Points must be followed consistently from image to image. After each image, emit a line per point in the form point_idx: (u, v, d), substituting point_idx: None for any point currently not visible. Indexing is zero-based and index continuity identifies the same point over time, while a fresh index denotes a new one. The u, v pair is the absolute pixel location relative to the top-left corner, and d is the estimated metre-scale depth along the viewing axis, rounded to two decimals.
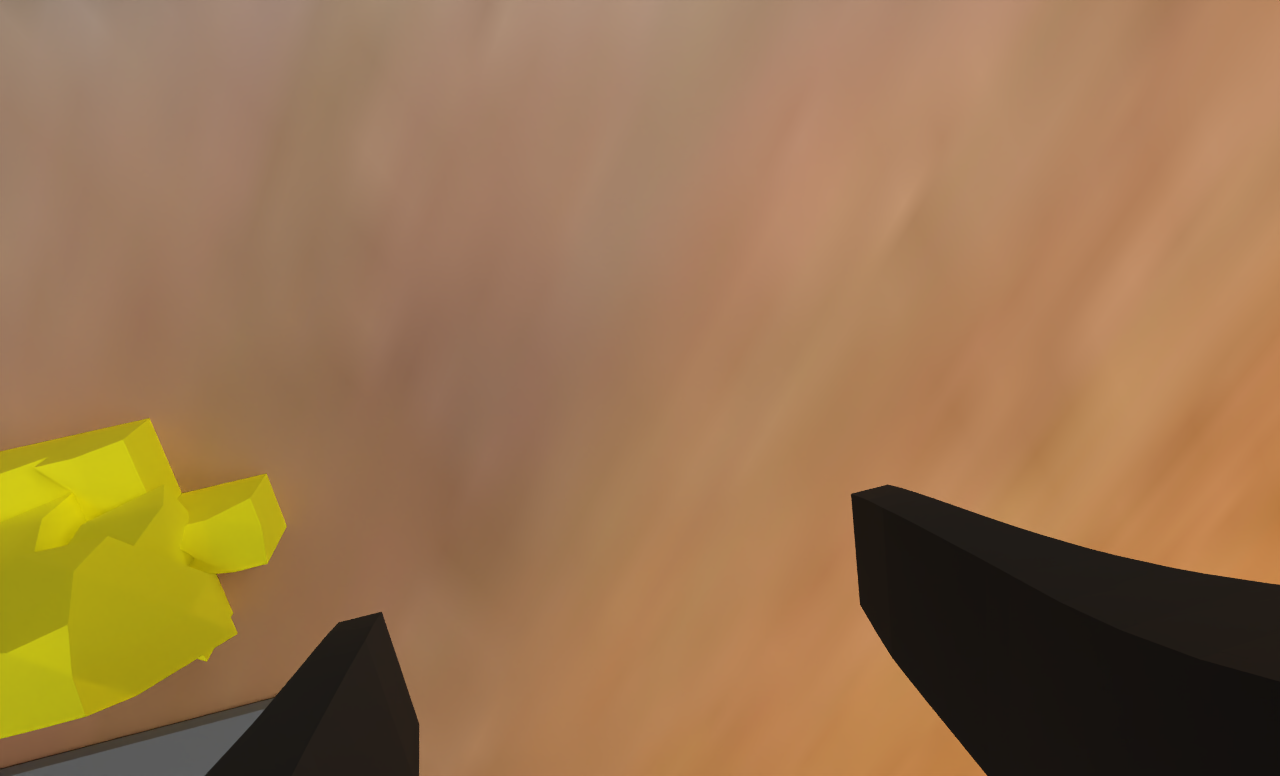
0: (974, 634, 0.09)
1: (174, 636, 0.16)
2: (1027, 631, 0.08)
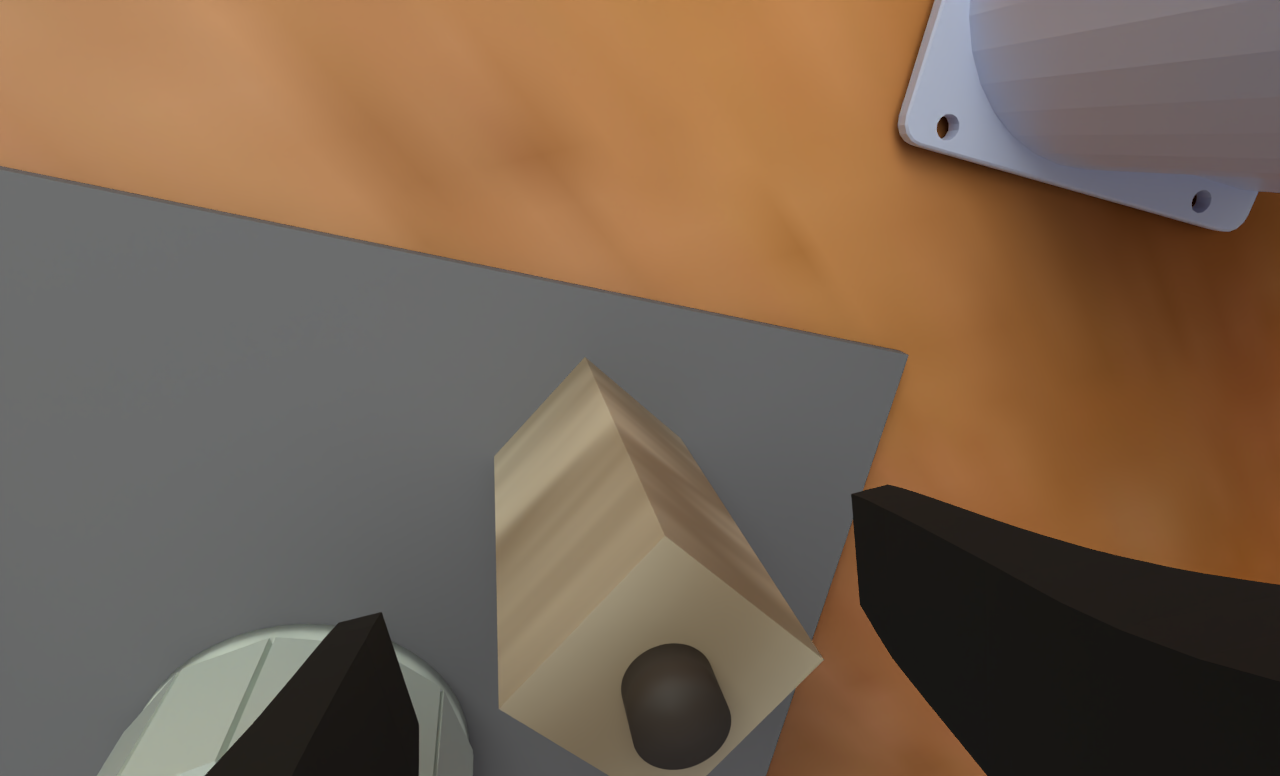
0: (974, 634, 0.09)
1: None
2: (1027, 631, 0.08)
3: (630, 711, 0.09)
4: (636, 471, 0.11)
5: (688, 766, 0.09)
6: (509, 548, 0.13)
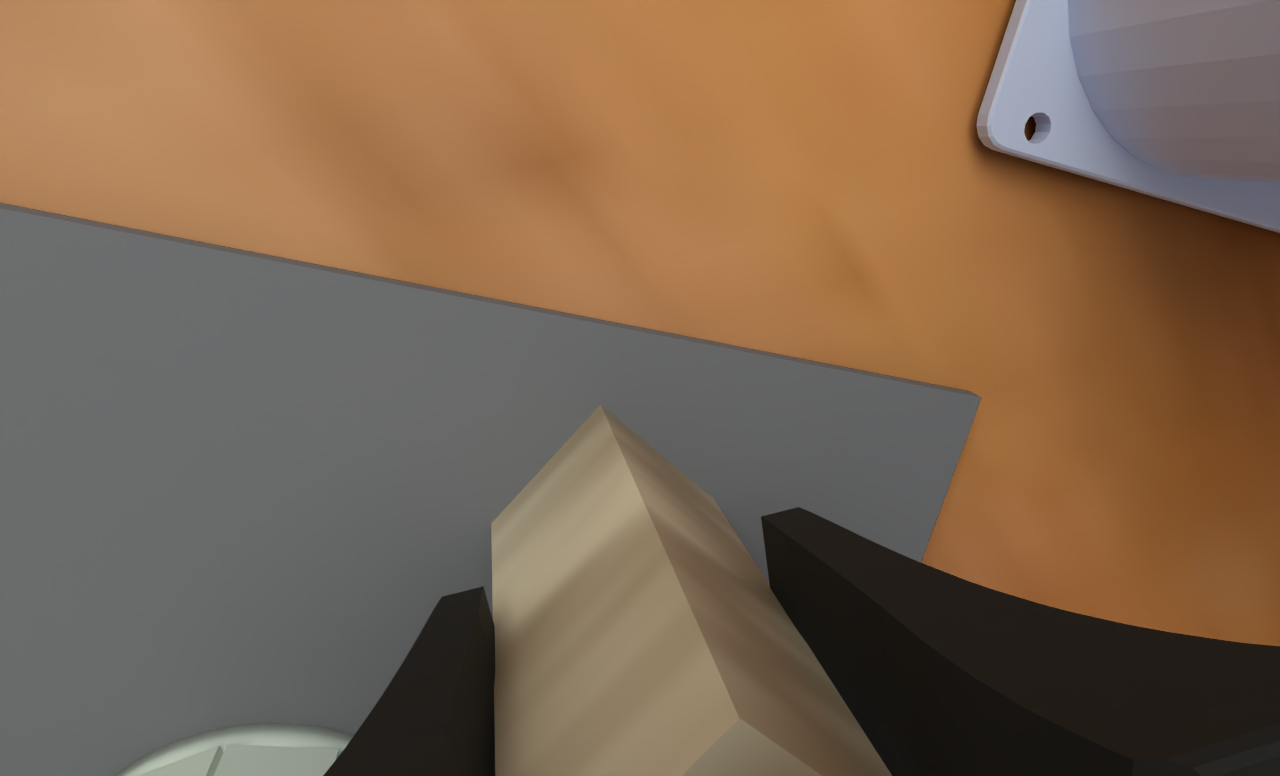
0: (861, 665, 0.09)
1: None
2: (900, 667, 0.08)
3: None
4: (683, 591, 0.08)
5: None
6: (511, 670, 0.10)
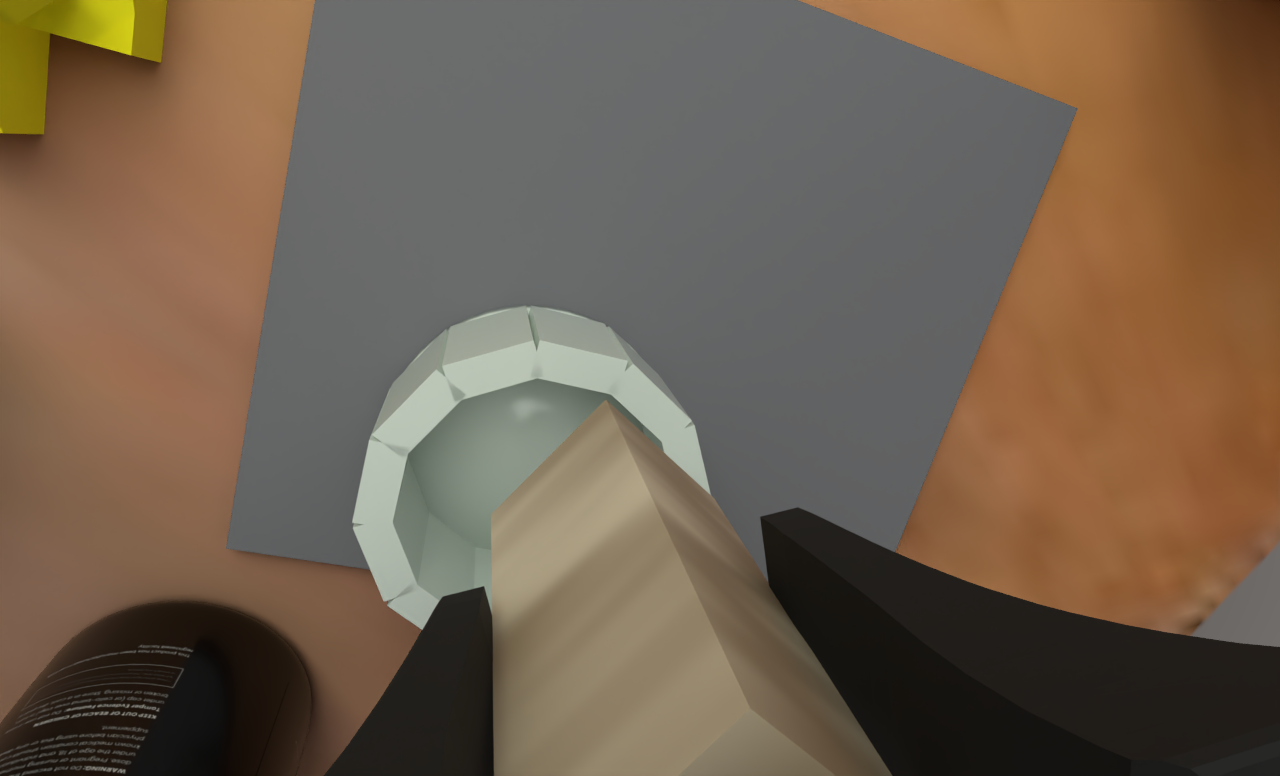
0: (861, 666, 0.09)
1: None
2: (899, 668, 0.08)
3: None
4: (691, 583, 0.08)
5: None
6: (510, 659, 0.10)
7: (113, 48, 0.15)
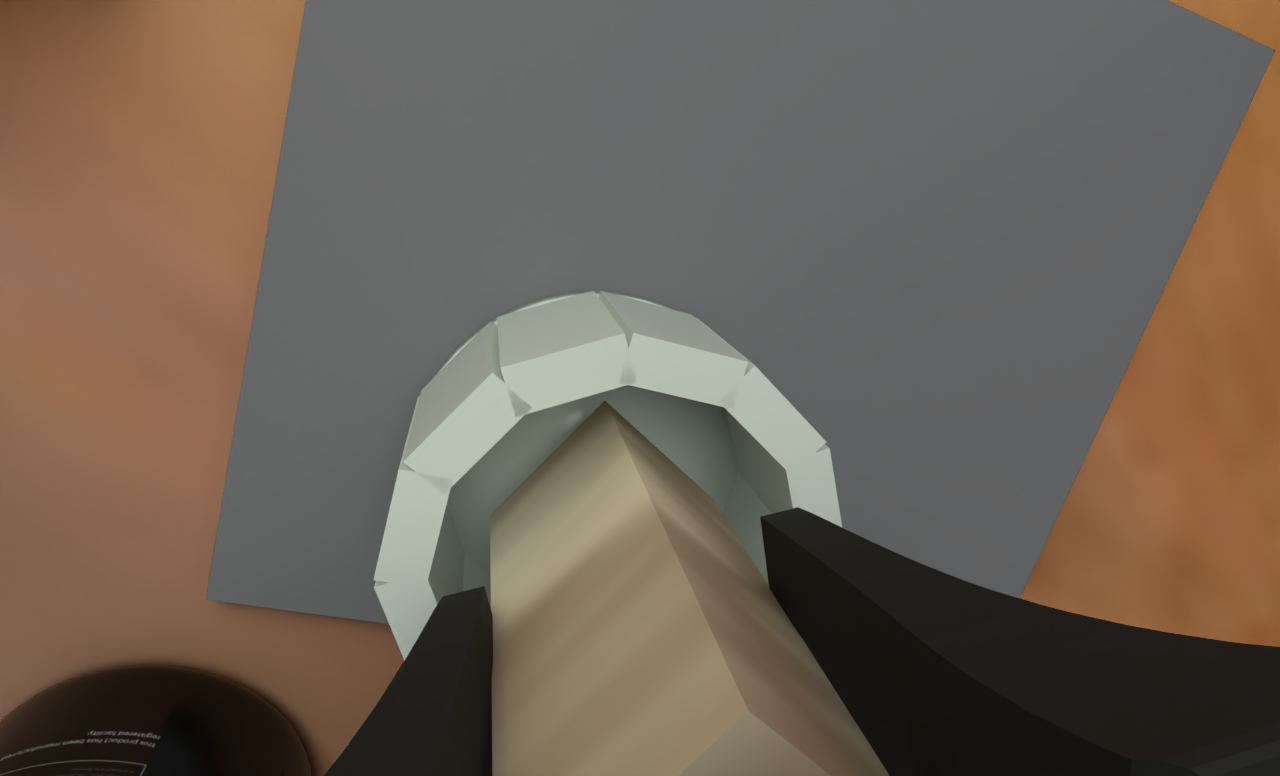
0: (861, 666, 0.09)
1: None
2: (900, 668, 0.08)
3: None
4: (690, 584, 0.08)
5: None
6: (509, 660, 0.10)
7: None
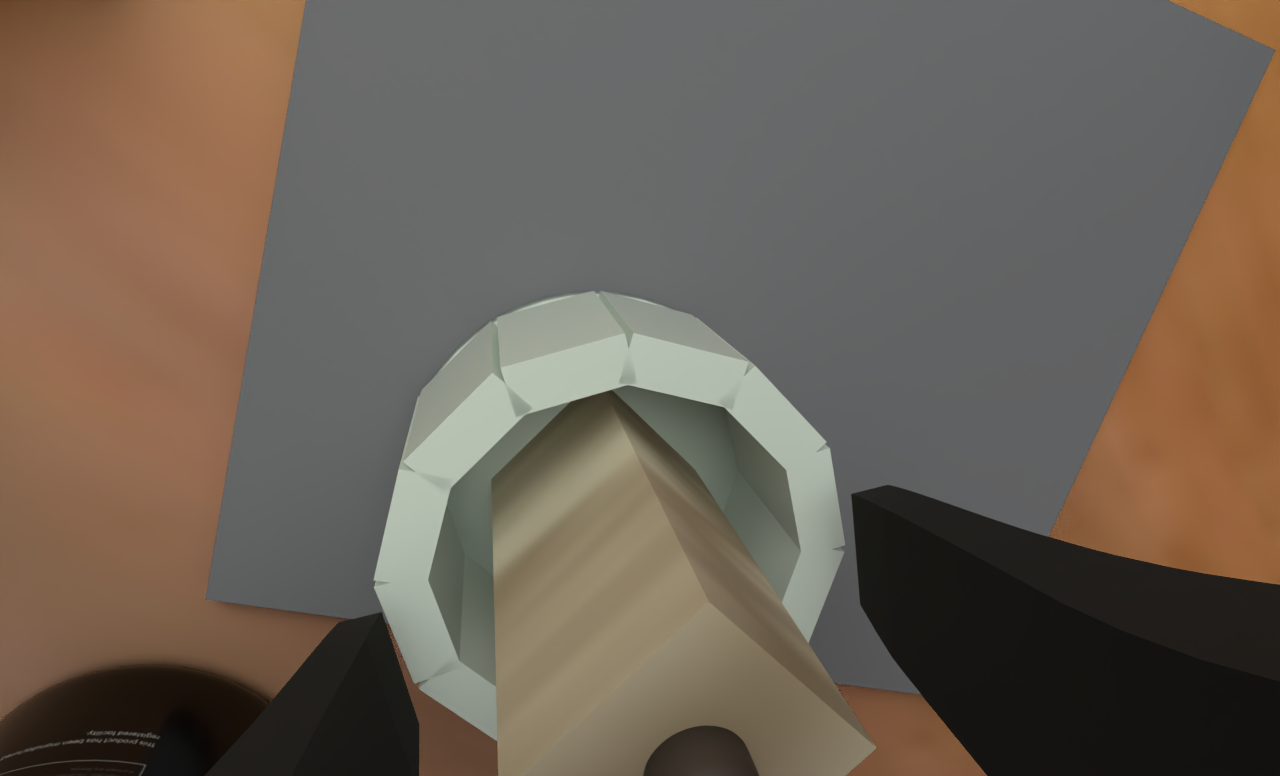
0: (975, 634, 0.09)
1: None
2: (1027, 631, 0.08)
3: None
4: (666, 516, 0.09)
5: None
6: (510, 591, 0.11)
7: None
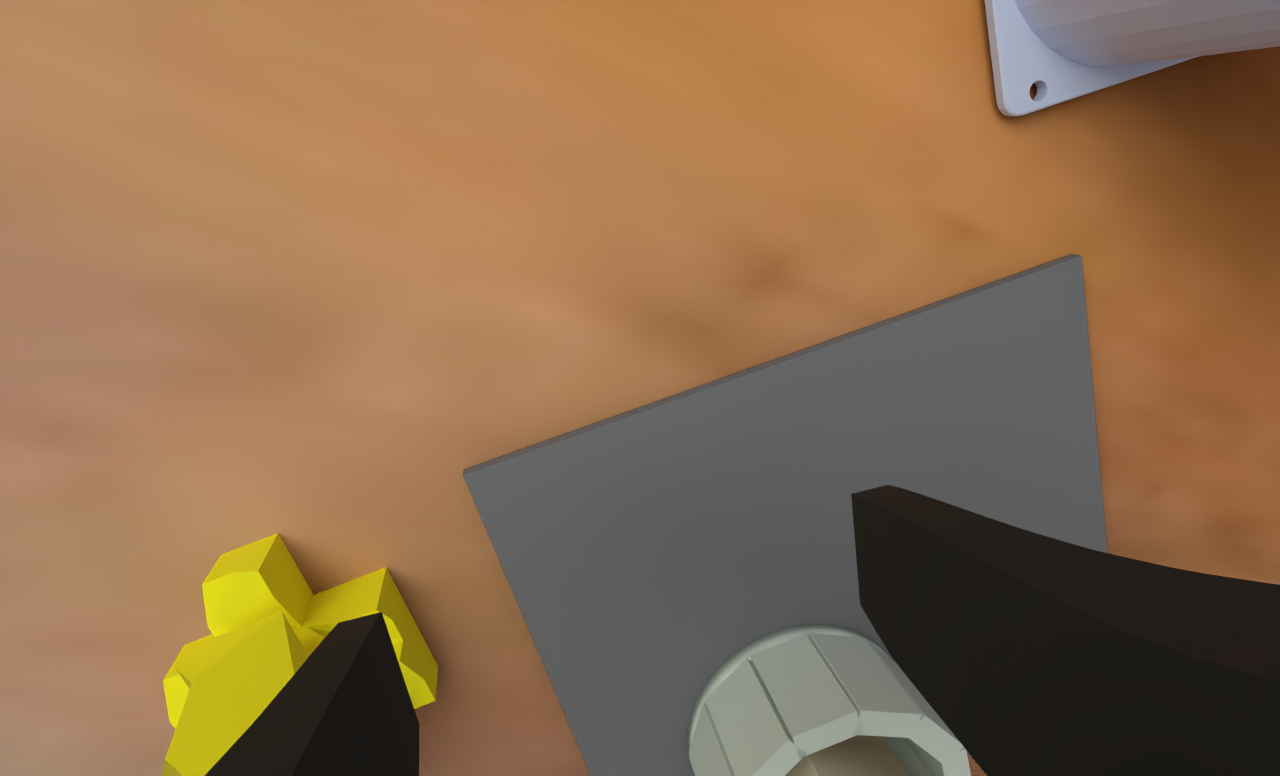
0: (974, 634, 0.09)
1: (225, 684, 0.16)
2: (1027, 631, 0.08)
3: None
4: None
5: None
6: None
7: (424, 704, 0.21)
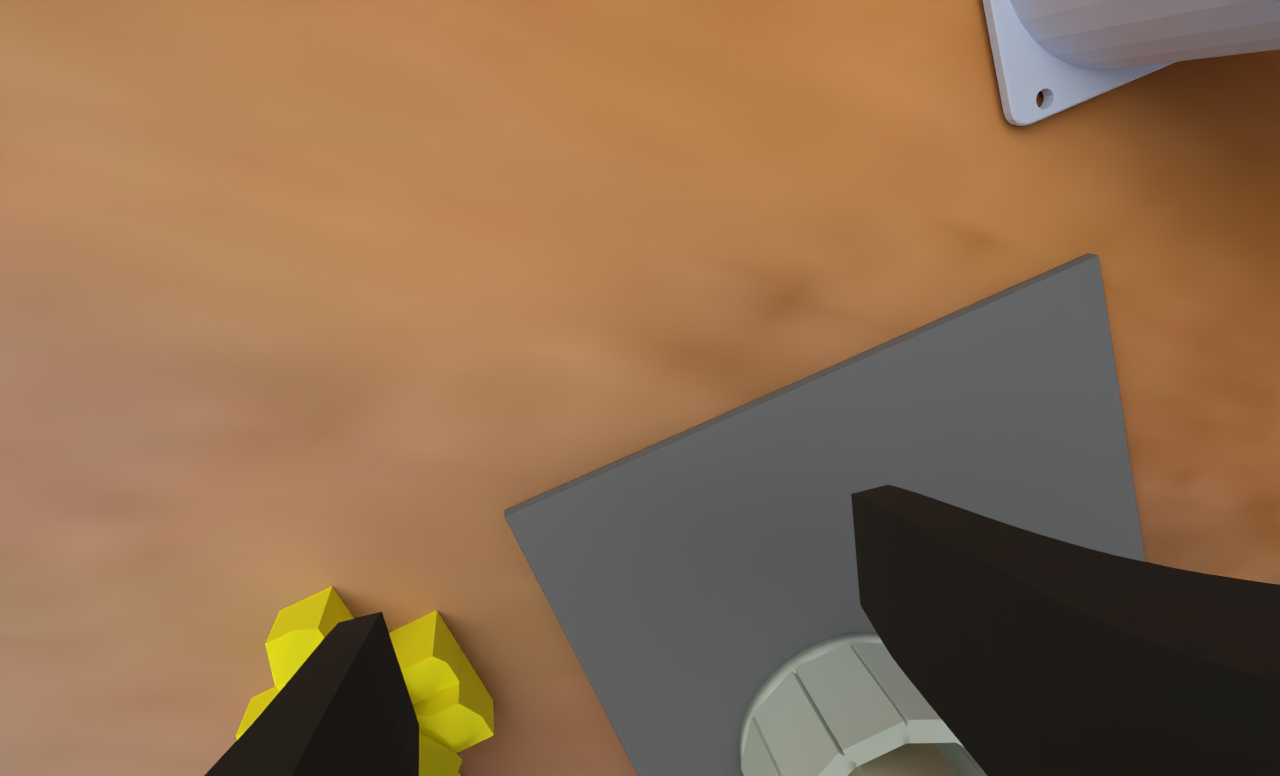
0: (974, 634, 0.09)
1: None
2: (1027, 631, 0.08)
3: None
4: None
5: None
6: None
7: (483, 739, 0.22)
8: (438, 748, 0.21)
